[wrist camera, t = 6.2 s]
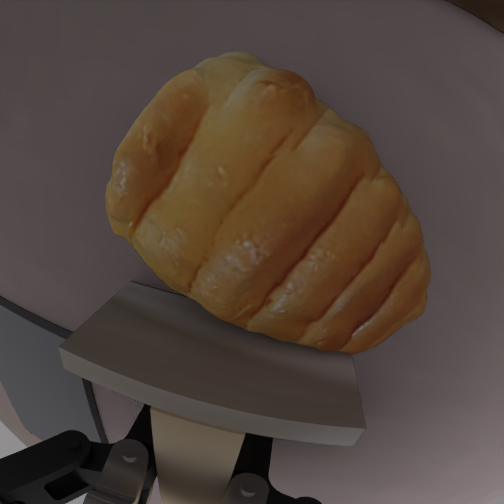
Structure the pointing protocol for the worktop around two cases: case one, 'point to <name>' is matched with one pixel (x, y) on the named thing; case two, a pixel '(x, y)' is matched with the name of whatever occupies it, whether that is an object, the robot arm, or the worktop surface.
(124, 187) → the pastry
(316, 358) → the scraper
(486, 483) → the worktop surface
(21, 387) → the mat
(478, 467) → the worktop surface
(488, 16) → the rail
